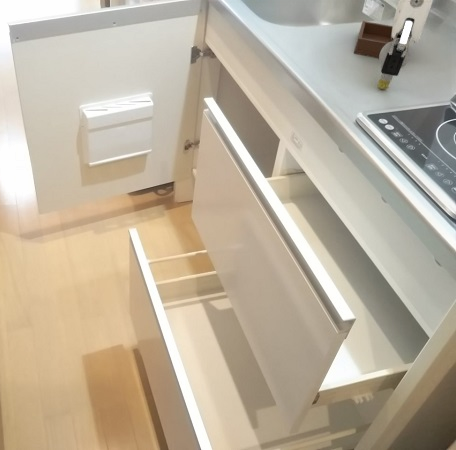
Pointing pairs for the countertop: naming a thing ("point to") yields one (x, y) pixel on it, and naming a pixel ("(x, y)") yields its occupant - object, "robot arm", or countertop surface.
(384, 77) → the light bulb
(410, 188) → the countertop surface
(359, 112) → the countertop surface
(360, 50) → the tray
